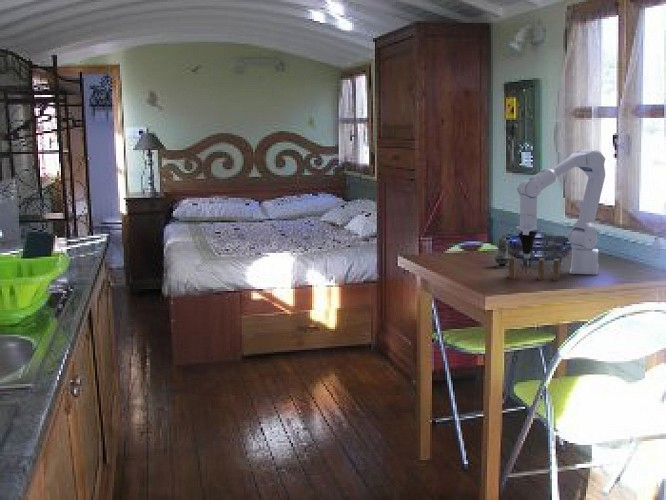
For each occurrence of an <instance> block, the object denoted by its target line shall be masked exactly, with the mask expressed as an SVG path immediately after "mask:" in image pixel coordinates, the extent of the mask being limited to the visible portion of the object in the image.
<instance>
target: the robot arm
mask: <svg viewBox="0 0 666 500" xmlns="http://www.w3.org/2000/svg"><path fill="white" fill-rule="evenodd" d="M605 161H606V157H605V156H604V155H603V153H602V152H601V151H600V150H597V149H596V150H595V149H594V150H592V149H591V150H590V149H589V150H588V149H578V150H577V151H575V152H573V153H571V154H570V155H569V156H568V157H566V158H565V159H564V160H562V161H561V162H559V163H558V164H556V165H555V166H554V167H552V168H548V167H546V168H541V169H540V170H539V172H537V173H536V174H534V175H531V176H529V179H524V180H522V181H521V182H520V183H519V184H518V187H517V188H516V190H517V194H519V202H520V203H519V205H520V206H519V225H517V226H516V228H515V229H516V230H520V233H518V237H519V240H520V243H521V248H522V253H523V255H524V254H530V255H531V253H532V249H533V247H534V246H533V245H534V241H535V238H536V236H537V234H538V231H537V230H538V226H537V222H538V221H537V219H538V218H537V216H538V210H537V209H538V196H539V195H540V194H541V192H542V190H544V189H546V188H547V187H549V186H552V184H554V183H555V182H556V181H557V178H558V177H559V176H561V175H564V174H565V173H567V172H568V171H570V170H572V169H574V168H579V169H580V170H582V171H583V172H584V173H585V175H586V176H587V182H586V188H585V190H584V191H585V192H584V195H583V199H582V203H581V208H580V211H579V216H578V220H577V221H575V223H573V226H572V227H571V228H572V229H571V230H570V231H569V232H568V236H567V239H568V240H567V241H568V242H569V243H570V246H571V261H570V262H571V266H570V269H569V274H572V275H573V274H575V275H576V274H577V275H594V276H596V275H598V271H599V269H600V267H599V266H600V264H599V249H598V248H595V246H596V245H597V243H598V235H597V234H598V228H597V227H596V224H595V220H596V216H597V212H598V207H599V204H600V199H601V195H602V191H603V187H604V183H605V178H606V169H605Z"/></svg>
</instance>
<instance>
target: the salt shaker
mask: <svg viewBox="0 0 666 500" xmlns="http://www.w3.org/2000/svg"><path fill="white" fill-rule="evenodd" d="M507 243H508V242H507V238H505V237H504V235H502V236H501V238H499V239H498V246H497V249H498V250H497V251H498V252H497V255H496V256H494V259H495V263H496V265H495V266H494V267H495V268H496V269H497V268H500V269H509V264H508V263H509V259H510V257H511V256H508V253H507V249H508V246H507Z"/></svg>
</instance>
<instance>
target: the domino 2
mask: <svg viewBox="0 0 666 500" xmlns="http://www.w3.org/2000/svg"><path fill="white" fill-rule="evenodd" d="M530 257H531V253H530V254H524V253H523V259H530Z"/></svg>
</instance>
